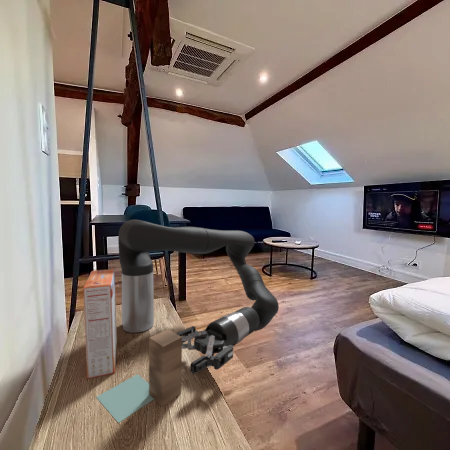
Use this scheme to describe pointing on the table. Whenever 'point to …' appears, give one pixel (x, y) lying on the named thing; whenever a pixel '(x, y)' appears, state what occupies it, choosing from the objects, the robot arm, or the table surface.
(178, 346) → the walnut block
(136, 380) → the felt mat
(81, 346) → the table surface
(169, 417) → the table surface
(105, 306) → the cracker box
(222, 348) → the robot arm
